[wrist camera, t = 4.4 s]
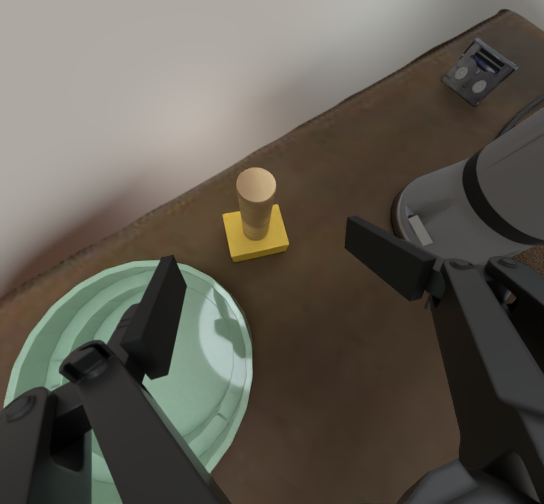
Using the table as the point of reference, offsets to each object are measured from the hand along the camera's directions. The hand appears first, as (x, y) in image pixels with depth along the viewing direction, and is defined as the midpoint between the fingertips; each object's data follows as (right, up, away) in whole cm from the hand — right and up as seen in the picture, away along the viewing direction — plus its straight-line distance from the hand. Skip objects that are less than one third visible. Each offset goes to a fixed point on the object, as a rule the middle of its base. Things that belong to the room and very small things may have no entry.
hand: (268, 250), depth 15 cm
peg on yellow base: (-2, +2, +11) cm, 12 cm away
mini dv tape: (+37, +31, +23) cm, 53 cm away
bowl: (-12, -12, +7) cm, 18 cm away
